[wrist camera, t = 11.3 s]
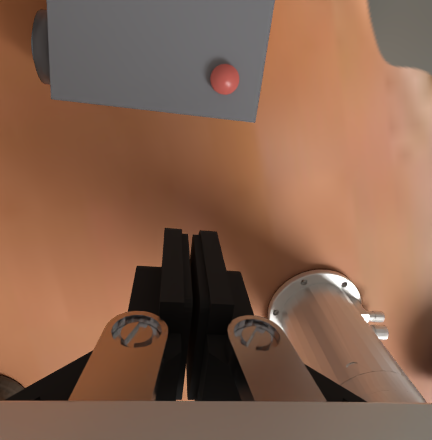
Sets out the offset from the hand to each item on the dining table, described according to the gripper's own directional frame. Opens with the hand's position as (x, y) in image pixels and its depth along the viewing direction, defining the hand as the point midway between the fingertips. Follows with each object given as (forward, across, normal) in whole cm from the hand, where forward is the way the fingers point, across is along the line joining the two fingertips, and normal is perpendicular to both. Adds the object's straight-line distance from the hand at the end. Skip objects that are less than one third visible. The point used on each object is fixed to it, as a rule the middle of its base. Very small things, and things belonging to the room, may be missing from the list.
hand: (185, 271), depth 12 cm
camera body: (+29, +3, -7) cm, 30 cm away
